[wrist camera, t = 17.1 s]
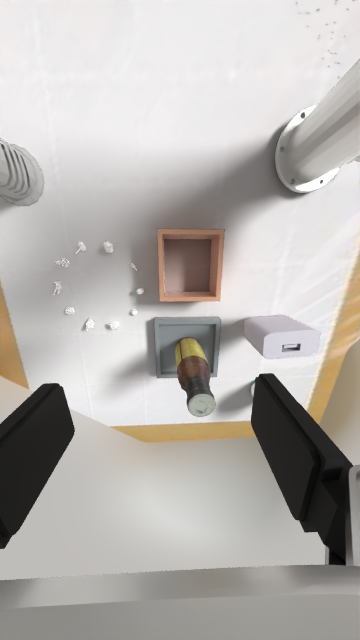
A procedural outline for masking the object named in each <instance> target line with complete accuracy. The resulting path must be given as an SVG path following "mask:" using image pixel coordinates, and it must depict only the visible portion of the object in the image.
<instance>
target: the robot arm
mask: <svg viewBox="0 0 360 640" xmlns="http://www.w3.org/2000/svg"><path fill="white" fill-rule="evenodd" d="M280 151H281V152H280ZM352 161H359V162H360V59H359V60H358V61H357V62H356V63H355V64H354V65H353V66H352V68H351V69H350V70H349V71H348V72H347V73H346V74H345V75H344V76H343V77H342V78H341V80H340V81H339V82H338V83H337V84H336V85H335V86H334V87H333V88H332V89H331V91H330V92H329V93H328V94H327V95H326V96H325V97H324V98H323V99H322V100H321V101H320V103H319V104H318V105H313V106H310V107H307V108H305V109H303V110H302V111H300V112H299V113H298V114H296V115H295V116H294V117H293V118H292V119H291V121H290V122H289V123H288V124H287V126H286V127H285V128H284V130H283V131H282V134H281V136H280V138H279V140H278V143H277V147H276V153H275V165H276V170H277V173H278V176H279V178H280V180H281V182H282V183H283V184H284V185H285V186H286V187H287V188H289V189H290V190H292V191H295V192H299V193H307V192H311V191H314V190H316V189H318V188H320V187H322V186H324V185H325V184H327V183H328V182H329V181H330V180H331V179H332V178H333V177H334V175H335V174H336V173H337V172H338V170H339V168H340V167H341V166H342V165H344V164H345V163H346V164H348V163H351V162H352ZM290 182H291V183H290ZM251 425H252V428H253V430H254V433H255V435H256V437H257V439H258V441H259V443H260V445H261V448H262V450H263V452H264V454H265V457H266V459H267V461H268V463H269V465H270V468H271V470H272V472H273V474H274V476H275V479H276V481H277V483H278V485H279V487H280V489H281V492H282V494H283V496H284V498H285V501H286V503H287V505H288V507H289V509H290V512H291V514H292V515H293V517H294V518H295V520H299V521H300V523H301V525H302V528H303V530H304V532H318V534H319V536H320V538H321V540H322V542H323V544H324V545H326V548H325V565H293V566H258V567H238V568H218V569H217V568H216V569H199V570H198V569H196V570H176V571H158V572H138V573H122V574H121V573H120V574H103V575H84V576H66V577H50V578H34V579H17V580H1V581H0V640H360V465H355V466H353V465H352V463H350V461H349V460H348V459H347V458H346V457H345V455H344V454H343V453H342V452H341V451H340V450H339V448H338V447H337V446H336V445H335V444H334V443H333V441H332V440H331V439H330V438H329V437H328V436H327V435H326V433H325V432H324V431H323V430H322V429H321V428H320V426H319V425H318V424H317V423H316V422H315V421H314V419H313V418H312V417H311V416H310V415H309V414H308V412H307V411H306V410H305V409H304V408H303V407H302V406H301V405H300V404H299V403H298V402H297V401H296V400H295V398H294V397H293V396H292V395H291V394H290V393H289V391H288V390H287V389H286V388H285V387H284V386H283V384H282V383H281V382H280V381H279V380H278V379H277V377H276V376H275V375H274V374H272V373H268V374H260V375H259V377H256V379H255V387H254V396H253V406H252V415H251ZM74 432H75V430H74V425H73V421H72V418H71V414H70V411H69V407H68V404H67V400H66V397H65V393H64V390H63V387H62V386H60V385H59V384H58V383H49V384H43V385H41V386H40V387H39V388H38V389H37V390H36V391H35V392H34V393H33V394H32V395H31V396H30V397H29V398H27V399H26V400H25V401H24V402H23V403H22V404H21V405H20V406H19V407H18V408H17V409H16V410H15V411H14V412H13V413H12V414H11V415H9V416H8V417H7V418H6V419H5V420H4V421H3V422H2V423H1V424H0V549H4V548H5V547H6V545H7V543H8V542H9V540H10V538H11V537H12V535H14V534H16V532H17V531H18V530H19V529H20V527H21V526H22V524H23V522H24V520H25V519H26V517H27V515H28V514H29V512H30V510H31V508H32V507H33V505H34V503H35V501H36V500H37V498H38V496H39V495H40V493H41V491H42V489H43V488H44V486H45V484H46V483H47V481H48V479H49V477H50V476H51V474H52V472H53V470H54V469H55V467H56V465H57V464H58V462H59V460H60V458H61V457H62V455H63V453H64V451H65V450H66V448H67V446H68V445H69V443H70V441H71V439H72V438H73V435H74Z"/></svg>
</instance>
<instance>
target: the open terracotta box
mask: <svg viewBox="0 0 360 640" xmlns="http://www.w3.org/2000/svg"><path fill="white" fill-rule="evenodd" d="M157 232H158V262H159V292H160V302H163V301H220V293H221V278H222V262H223V247H224V232H225V229H157ZM164 239H212V244H211V265H210V286H209V292H165V255H164Z"/></svg>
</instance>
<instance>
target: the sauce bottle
mask: <svg viewBox="0 0 360 640" xmlns="http://www.w3.org/2000/svg"><path fill="white" fill-rule="evenodd" d="M175 356H176V367H177V375H178V380H179V383H180V385H181V388H182V389H183V390H184V391H186V393H187V406H188V410H189V412H190V413H191V414H192V415H194V416H197V417H203V416H207V415H210V414H211V413H212V412H213V411H214V409H215V405H216V403H215V399H214V396H213V394H212V393H211V391H210V387H209V380H210V375H211V373H210V367H209V365H208V363H207V360H206V358H205V355H204V353H203V351H202V348H201V346H200V344H199V343H198V341H197V340H195V339H194V338H191V337H185V338H182V339H181V340H179V341H178V342H177V344H176V348H175Z"/></svg>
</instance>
